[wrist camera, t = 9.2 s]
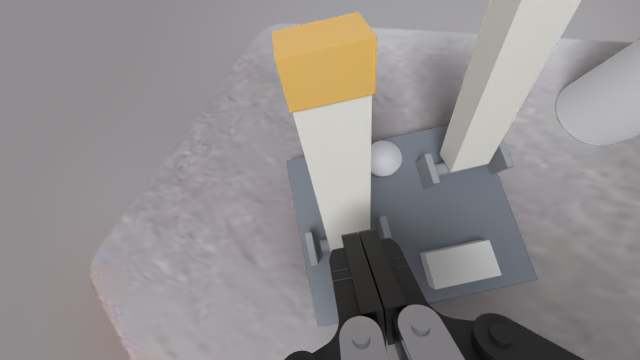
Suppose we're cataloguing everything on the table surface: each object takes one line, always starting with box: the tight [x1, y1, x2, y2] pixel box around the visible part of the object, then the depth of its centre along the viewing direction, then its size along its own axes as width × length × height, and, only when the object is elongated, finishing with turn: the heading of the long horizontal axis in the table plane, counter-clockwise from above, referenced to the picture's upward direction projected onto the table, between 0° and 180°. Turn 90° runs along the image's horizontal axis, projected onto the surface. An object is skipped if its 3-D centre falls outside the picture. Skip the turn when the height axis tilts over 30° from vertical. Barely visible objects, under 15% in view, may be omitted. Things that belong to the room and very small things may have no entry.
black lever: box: [435, 0, 581, 176], centre depth 16 cm, size 4×2×16 cm, turn 102°
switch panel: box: [286, 125, 538, 327], centre depth 22 cm, size 18×14×5 cm
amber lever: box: [272, 12, 377, 253], centre depth 15 cm, size 4×2×16 cm, turn 102°
